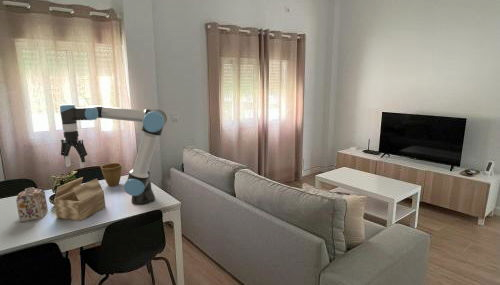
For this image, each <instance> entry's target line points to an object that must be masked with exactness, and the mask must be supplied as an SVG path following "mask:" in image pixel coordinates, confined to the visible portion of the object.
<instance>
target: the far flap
mask: <svg viewBox="0 0 500 285" xmlns="http://www.w3.org/2000/svg"><path fill="white" fill-rule="evenodd" d="M83 178H84V177H83V176H82V177H79V178H76V179H74V180H72V181H69V182H67V183H65V184H62V185H59V186H57V187H56V192H55V196H54V199H56V198H58V197H60V196H63V195H65V194H67V193H70V192H72V191H73V188H75V187H78V186H80V185H82V182H83Z"/></svg>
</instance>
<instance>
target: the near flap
mask: <svg viewBox="0 0 500 285" xmlns="http://www.w3.org/2000/svg"><path fill="white" fill-rule="evenodd" d="M101 190H104V189H103V187H102V186H101V184H100V182H99V180H98V178H97V177H96V178H93V179H92V180H89V181H87V182H85V183H83V184H82V183H81V185H80V186H78V187H75V188H73V191H74V193H75V195H76V196H77V198H78V200H79V201H80V200H82V199H84V198H86V197H88V196H90V195H92V194H94V193H96V192H98V191H101Z"/></svg>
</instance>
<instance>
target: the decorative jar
mask: <svg viewBox="0 0 500 285" xmlns="http://www.w3.org/2000/svg"><path fill="white" fill-rule="evenodd" d="M45 192H46V191H44V190H42V189H40V188H35V187H33V186H32V187H28V188H27V187H26V188H25V189H24V190H23V191H21V192H19V193H18V194H17V197H16V200H15V201H16V208H17V213H18V217H19V218H18V219H19V222H24V221H25V222H26V221H33V220H42V219H43V217H44V216H45V215H46V214H47V213H48V212H49V208H48V203H47V197H46V193H45Z"/></svg>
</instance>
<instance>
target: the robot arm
mask: <svg viewBox="0 0 500 285" xmlns="http://www.w3.org/2000/svg"><path fill="white" fill-rule="evenodd" d="M59 110H60V111H59V112H60V113H59V114H60V117H61V125H62V131H63V132H62V133H63V139H60V142H61V147H60V155H61V156H63V157H64V161H65V166H66V168H68V167H71V166H72V164H71V163H72V162H71V156H70V154H69V153H70V151H71V147H73V148H74V149H75V150H76V152H77V154H78V155H79V156H78V160H79V166H80V167H79V168H80V169H83V168H85V167H86V164H85V162H86V159H85V157H86V156H88V152H87V150H86V148H85V145H84V140H83V139H79V131H78V121H95V120H97V119H105V120H106V119H109V120H118V121H129V122H135V123H136V122H138V123H142V126H141V131H142V137H141V140H140V144H139V147H138V151H137V154H136V158H135V162H134V165H133V168H132V169H131V170H130V171H129V172H128V175H127V176H128V177H127V179H126V181H125V182H124V186H123V188H124V191H125V192H126V194H128V195H129V196H131V204H132V205H136V206H144V205H149V204H152V203H153V202H155V200H156V196H155V193H154V191H153V189H152V180H151V170H150V168H149V167H150V164H151V161H152V157H153V153H154V150H155V148H156V147H155V146H156V144H157V139H158V138H159V137H160V136H162V132H163V128H164V126H166V123H168V122H167V121H168V118H167V117H168V116H167V115H166V112H164V110H161V109H149V108H148V109H147V108H146V109H144V110H141V109H133V108H123V107H114V106H113V107H112V106H104V105H100V104H94V105H89V106H85V107H83V106H81V107H76V105H75V104H74V103H67V104H60V106H59Z"/></svg>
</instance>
